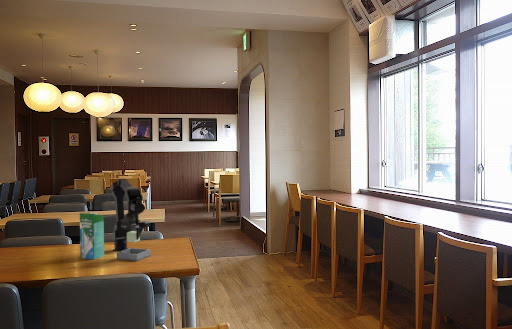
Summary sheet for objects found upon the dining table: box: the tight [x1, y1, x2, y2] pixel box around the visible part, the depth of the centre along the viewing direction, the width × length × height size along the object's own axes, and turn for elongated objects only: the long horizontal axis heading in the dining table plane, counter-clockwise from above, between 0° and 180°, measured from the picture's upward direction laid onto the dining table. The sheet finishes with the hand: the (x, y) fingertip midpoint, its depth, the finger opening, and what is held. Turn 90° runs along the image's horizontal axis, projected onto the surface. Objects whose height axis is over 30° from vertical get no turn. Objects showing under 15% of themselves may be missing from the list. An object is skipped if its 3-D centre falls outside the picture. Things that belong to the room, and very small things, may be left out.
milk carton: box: [79, 211, 105, 260], centre depth 258 cm, size 9×9×25 cm
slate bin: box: [116, 247, 151, 262], centre depth 257 cm, size 13×13×4 cm
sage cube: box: [126, 230, 141, 243], centre depth 256 cm, size 5×5×5 cm
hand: (133, 239), depth 256 cm, fingers closed on sage cube, 5 cm apart
